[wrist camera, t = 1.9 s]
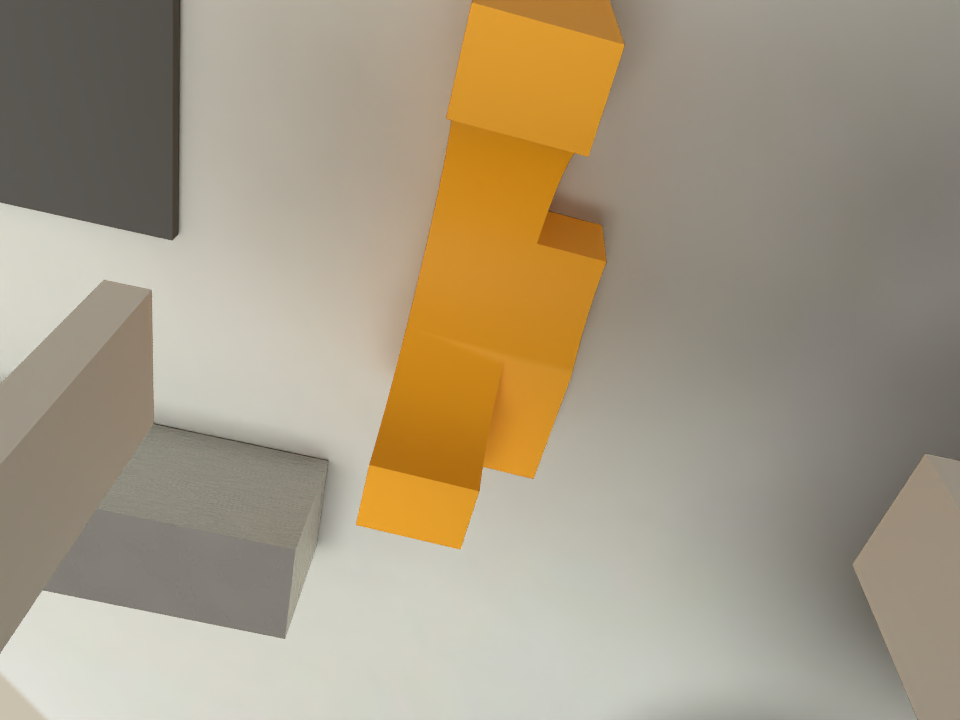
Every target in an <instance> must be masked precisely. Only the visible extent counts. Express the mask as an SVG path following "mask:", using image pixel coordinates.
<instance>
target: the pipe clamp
mask: <svg viewBox="0 0 960 720" xmlns="http://www.w3.org/2000/svg"><path fill="white" fill-rule="evenodd" d="M624 46H625V44H624V41H623V38H622V35H621V32H620V29H619V26H618V23H617V20H616V17H615V15H614V12H613V9H612V6H611V3H610V0H473V1H472V4H471V8H470V13H469V17H468V22H467V26H466V31H465V35H464V40H463V44H462V49H461V53H460V58H459V62H458V67H457V71H456V76H455V80H454V85H453V89H452V94H451V98H450V103H449V107H448V112H447V116H446V119H449V120H451V127H450V134H449V140H448V145H447V151H446V156H445V161H444V167H443V171H442V176H441V181H440V186H439V191H438V195H437V200H436V205H435V209H434V214H433V218H432V223H431V227H430V232H429V236H428V240H427V245H426V249H425V253H424V258H423V262H422V266H421V270H420V275H419V279H418V283H417V287H416V291H415V295H414V299H413V303H412V307H411V312H410V316H409V320H408V324H407V328H406V332H405V335H404V339H403V343H402V347H401V351H400V355H399V359H398V363H397V367H396V370H395V374H394V378H393V382H392V386H391V389H390V393H389V397H388V401H387V404H386V408H385V412H384V415H383V419H382V422H381V426H380V430H379V433H378V437H377V440H376V444H375V447H374V451H373V454H372V457H371V461H370V464H369V468H368V473H367V477H366V482H365V486H364V491H363V496H362V500H361V505H360V509H359V514H358V518H357V523H356V525H358V526H363V527H367V528H371V529H375V530H380V531H384V532H388V533H392V534H397V535H401V536H405V537H410V538H414V539H418V540H422V541H427V542H431V543H435V544H439V545H444V546H448V547H452V548H456V549H461V546H462V543H463V540H464V537H465V534H466V531H467V528H468V525H469V522H470V518H471V515H472V512H473V509H474V506H475V503H476V500H477V497H478V494H479V490H480V483H481V475H482V469H483V467H486V468H490V469H495V470H499V471H503V472H507V473H511V474H515V475H519V476H524V477H528V478H532V479H534V476H535V473H536V471H537V468H538V465H539V462H540V460H541V457H542V454H543V452H544V449H545V446H546V444H547V441H548V438H549V436H550V433H551V430H552V427H553V425H554V422H555V419H556V417H557V414H558V411H559V409H560V406H561V403H562V400H563V398H564V395H565V392H566V390H567V387H568V384H569V382H570V379H571V376H572V372H573V368H574V364H575V360H576V356H577V352H578V348H579V344H580V341H581V337H582V334H583V330H584V327H585V323H586V320H587V317H588V314H589V310H590V307H591V304H592V301H593V298H594V295H595V292H596V289H597V286H598V284H599V281H600V278H601V275H602V273H603V270H604V267H605V265H606V262H607V261H606V253H605V245H604V236H603V228H602V225H599V224H595V223H592V222H588V221H584V220H580V219H576V218H572V217H569V216H565V215H561V214H557V213H553V212H550V211H548V210H549V207H550V205H551V202H552V199H553V197H554V194H555V192H556V189H557V187H558V184H559V182H560V180H561V177H562V175H563V173H564V171H565V169H566V167H567V165H568V163H569V161H570V159H571V157H572V156H573V154H574V153H576V154H580V155H584V156H587V157H589V153H590V150H591V147H592V144H593V141H594V138H595V135H596V132H597V129H598V126H599V123H600V120H601V117H602V114H603V111H604V107H605V104H606V101H607V98H608V95H609V92H610V89H611V86H612V83H613V80H614V77H615V74H616V71H617V68H618V64H619V61H620V58H621V55H622V52H623V49H624Z"/></svg>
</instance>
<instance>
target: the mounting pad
mask: <svg viewBox="0 0 960 720" xmlns="http://www.w3.org/2000/svg"><path fill="white" fill-rule="evenodd" d="M179 8H180V0H0V202H1V203H5V204H10V205H14V206H19V207H23V208H28V209H33V210H37V211H42V212H46V213H51V214H55V215H60V216H64V217H69V218H73V219H78V220H82V221H87V222H91V223H96V224H100V225H105V226H109V227H114V228H118V229H123V230H128V231H132V232H137V233H141V234H146V235H150V236H155V237H159V238H164V239H168V240H173V239H174V238H175V237H176V236H177V235H178V166H179Z"/></svg>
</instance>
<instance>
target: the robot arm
mask: <svg viewBox="0 0 960 720" xmlns="http://www.w3.org/2000/svg"><path fill="white" fill-rule="evenodd" d="M153 424H154V399H153V337H152V290H150V289H145V288H140V287H135V286H131V285H126V284H121V283H117V282H112V281H107V280H103V281H102V282H101V283H100V284H99V285H98V286H97V287H96V288H95V289H94V290H93V291H92V292H91V293H90V294H89V295H88V296H87V297H86V298H85V299H84V300H83V301H82V302H81V303H80V304H79V305H78V306H77V307H76V308H75V309H74V311H73V312H72V313H71V314H70V315H69V316H68V317H67V318H66V319H65V320H64V321H63V322H62V323H61V324H60V325H59V326H58V327H57V328H56V329H55V330H54V331H53V332H52V333H51V334H50V335H49V336H48V337H47V338H46V339H45V340H44V341H43V342H42V343H41V344H40V345H39V346H38V347H37V348H36V349H35V350H34V351H33V352H32V353H31V354H30V355H29V356H28V357H27V358H26V359H25V360H24V361H23V362H22V363H21V364H20V365H19V366H18V367H17V368H16V369H15V370H14V371H13V372H12V373H11V374H10V375H9V376H8V377H7V378H6V379H5V380H4V381H3V382H2V383H1V384H0V653H1V651H2V650H3V648H4V647H5V645H6V644H7V642H8V641H9V639H10V638H11V636H12V635H13V633H14V632H15V630H16V629H17V627H18V626H19V624H20V623H21V621H22V620H23V618H24V617H25V615H26V614H27V612H28V611H29V609H30V608H31V606H32V605H33V603H34V602H35V600H36V599H37V597H38V596H39V594H40V593H41V591H42V590H43V588H44V587H45V585H46V584H47V582H48V581H49V579H50V578H51V576H52V575H53V573H54V572H55V570H56V569H57V567H58V566H59V564H60V563H61V561H62V560H63V558H64V557H65V555H66V554H67V552H68V551H69V549H70V548H71V546H72V545H73V543H74V542H75V540H76V539H77V537H78V536H79V534H80V533H81V531H82V530H83V528H84V527H85V525H86V524H87V522H88V521H89V519H90V518H91V516H92V515H93V513H94V512H95V510H96V509H97V507H98V506H99V504H100V503H101V501H102V500H103V498H104V497H105V495H106V494H107V492H108V491H109V489H110V488H111V486H112V485H113V483H114V482H115V480H116V479H117V477H118V476H119V474H120V473H121V471H122V470H123V468H124V467H125V465H126V464H127V463H128V461H129V460H130V458H131V457H132V455H133V454H134V452H135V451H136V449H137V448H138V446H139V445H140V443H141V442H142V440H143V439H144V437H145V436H146V434H147V433H148V431H149V430H150V428H151V427H152V425H153ZM852 565H853V567H854V570H855V572H856V575H857V577H858V579H859V582H860V584H861V586H862V589H863V591H864V594H865V596H866V598H867V601H868V603H869V605H870V608H871V610H872V613H873V615H874V617H875V620H876V622H877V624H878V627H879V629H880V632H881V634H882V636H883V639H884V641H885V643H886V646H887V648H888V650H889V653H890V655H891V658H892V660H893V662H894V665H895V667H896V669H897V672H898V674H899V677H900V679H901V681H902V684H903V686H904V688H905V691H906V693H907V696H908V698H909V700H910V703H911V705H912V707H913V710H914V712H915V715H916V717H917V719H918V720H960V461H958V460H953V459H949V458H944V457H939V456H934V455H930V454H925V455H924V456H923V458H922V459H921V461H920V462H919V464H918V465H917V467H916V468H915V470H914V471H913V473H912V474H911V476H910V477H909V479H908V481H907V482H906V484H905V485H904V487H903V488H902V490H901V491H900V493H899V494H898V496H897V497H896V499H895V500H894V502H893V503H892V505H891V506H890V508H889V509H888V511H887V512H886V514H885V515H884V517H883V519H882V520H881V522H880V523H879V525H878V526H877V528H876V529H875V531H874V532H873V534H872V535H871V537H870V538H869V540H868V541H867V543H866V544H865V546H864V547H863V549H862V550H861V552H860V553H859V555H858V557H857V558H856V560H855V561H854V563H853V564H852Z"/></svg>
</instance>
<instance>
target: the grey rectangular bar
mask: <svg viewBox="0 0 960 720" xmlns="http://www.w3.org/2000/svg"><path fill="white" fill-rule="evenodd" d="M327 467H328V461H326V460H321V459H317V458H312V457H307V456H303V455H298V454H293V453H288V452H284V451H279V450H274V449H269V448H265V447H260V446H255V445H250V444H246V443H241V442H236V441H231V440H227V439H222V438H217V437H212V436H208V435H203V434H198V433H193V432H189V431H184V430H179V429H174V428H170V427H165V426H160V425H155V424H153V425H152V427H151V428H150V430H149V431H148V433H147V434H146V436H145V437H144V439H143V440H142V442H141V443H140V445H139V446H138V448H137V449H136V451H135V452H134V454H133V455H132V457H131V458H130V460H129V461H128V463H127V464H126V465H125V467H124V468H123V470H122V471H121V473H120V474H119V476H118V477H117V479H116V480H115V482H114V483H113V485H112V486H111V488H110V489H109V491H108V492H107V494H106V495H105V497H104V498H103V500H102V501H101V503H100V504H99V506H98V507H97V509H96V510H95V512H94V513H93V515H92V516H91V518H90V519H89V521H88V522H87V524H86V525H85V527H84V528H83V530H82V531H81V533H80V534H79V536H78V537H77V539H76V540H75V542H74V543H73V545H72V546H71V548H70V549H69V551H68V552H67V554H66V555H65V557H64V558H63V560H62V561H61V563H60V564H59V566H58V567H57V569H56V570H55V572H54V573H53V575H52V576H51V578H50V579H49V581H48V582H47V584H46V585H45V587H44V588H43V590H44V591H49V592H54V593H59V594H64V595H69V596H74V597H79V598H84V599H89V600H94V601H99V602H104V603H109V604H114V605H119V606H124V607H129V608H134V609H139V610H144V611H149V612H154V613H159V614H164V615H169V616H174V617H179V618H184V619H189V620H194V621H199V622H204V623H209V624H214V625H219V626H224V627H229V628H234V629H239V630H244V631H249V632H254V633H258V634H263V635H268V636H273V637H278V638H283V639H285V638H286V635H287V632H288V629H289V626H290V623H291V620H292V617H293V614H294V611H295V608H296V605H297V602H298V599H299V596H300V593H301V591H302V588H303V585H304V582H305V579H306V576H307V573H308V570H309V567H310V564H311V561H312V558H313V555H314V552H315V549H316V546H317V540H318V532H319V525H320V518H321V511H322V503H323V496H324V489H325V482H326V474H327Z"/></svg>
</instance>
